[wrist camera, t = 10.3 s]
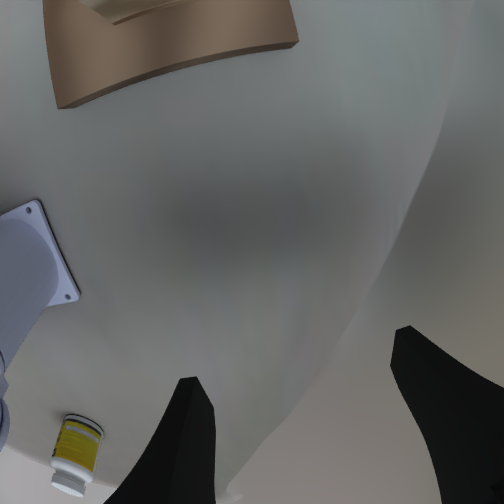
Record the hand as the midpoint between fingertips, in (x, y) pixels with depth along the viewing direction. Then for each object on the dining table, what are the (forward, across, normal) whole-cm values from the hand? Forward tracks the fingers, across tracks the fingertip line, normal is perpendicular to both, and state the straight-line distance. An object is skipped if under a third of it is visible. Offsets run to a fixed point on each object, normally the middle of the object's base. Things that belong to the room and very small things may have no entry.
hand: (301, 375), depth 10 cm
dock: (+10, +3, -18) cm, 21 cm away
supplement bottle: (+11, +26, +19) cm, 34 cm away
